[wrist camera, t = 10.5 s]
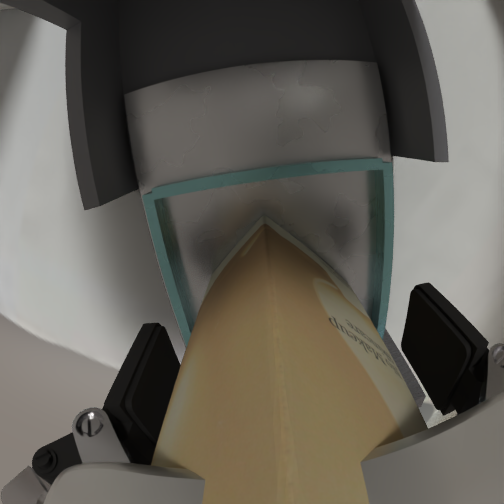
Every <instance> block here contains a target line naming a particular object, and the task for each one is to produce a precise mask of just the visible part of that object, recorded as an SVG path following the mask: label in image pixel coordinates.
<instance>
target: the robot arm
mask: <svg viewBox="0 0 504 504" xmlns="http://www.w3.org/2000/svg"><path fill="white" fill-rule="evenodd" d="M488 343H489V342H488V341H487V340H486V339H485V338H484V337H483V336H482V335H481V333H480V332H479V331H478V330H477V329H476V328H475V327H474V326H473V325H472V324H471V323H470V322H469V321H468V320H467V319H466V318H465V317H464V316H463V315H462V314H461V313H460V312H459V311H458V310H457V309H456V308H455V307H454V306H453V305H452V304H451V303H450V302H449V301H448V300H447V299H446V298H445V297H444V296H443V295H442V294H441V293H440V292H439V291H438V290H437V289H436V288H434V287H433V286H432V285H431V284H430V283H424V284H419V285H416V286H415V287H414V290H412V291H411V294H410V300H409V306H408V312H407V318H406V323H405V328H404V333H403V337H402V342H401V348H402V351H403V353H404V354H405V356H406V358H407V359H408V361H409V363H410V364H411V366H412V368H413V369H414V371H415V373H416V374H417V376H418V378H419V379H420V381H421V383H422V385H423V386H424V388H425V390H426V392H427V393H428V395H429V397H430V399H431V400H432V402H433V404H434V406H435V408H436V409H437V410H440V411H441V413H442V414H443V416H444V415H446V414H448V413H450V412H452V411H454V410H456V412H457V416H455V417H453V418H451V419H449V420H447V421H444V422H442V423H440V424H438V425H436V426H433V427H431V428H429V429H427V430H424V431H422V432H419V433H417V434H414V435H412V436H409V437H406V438H404V439H401V440H398V441H395V442H392V443H389V444H386V445H383V446H380V447H377V448H374V449H373V450H372V451H371V452H370V453H369V454H368V455H367V456H366V457H365V458H364V459H363V460H362V461H361V462H360V464H361V468H362V472H363V476H364V481H365V485H366V490H367V495H368V499H369V504H504V344H502V343H499V344H495V345H494V346H492V347H491V348H490V350H489V349H488V348H487V346H488ZM180 366H181V365H180V363H179V361H178V358H177V356H176V353H175V351H174V348H173V346H172V343H171V341H170V338H169V336H168V333H167V331H166V328H165V327H164V326H161V325H160V324H159V323H146V324H143V326H142V328H141V330H140V331H139V333H138V335H137V337H136V339H135V341H134V343H133V345H132V347H131V349H130V351H129V353H128V355H127V357H126V359H125V361H124V363H123V365H122V367H121V369H120V371H119V373H118V375H117V377H116V379H115V381H114V383H113V385H112V387H111V389H110V392H109V394H108V396H107V398H106V400H105V403H104V406H103V409H100V408H95V407H94V408H88V409H85V410H83V411H82V412H80V413H79V414H78V415H77V416H76V417H75V419H74V421H73V424H72V431H73V432H72V433H70V434H68V435H66V436H64V437H63V438H60V439H58V440H56V441H54V442H52V443H50V444H48V445H46V446H43V447H42V448H40V449H39V450H38V451H37V452H36V453H35V454H34V456H33V460H32V466H33V467H32V468H31V467H30V466H27V468H25V469H24V470H23V471H22V472H20V473H19V474H18V475H17V476H16V477H15V478H14V479H12V480H11V481H10V482H9V483H8V484H7V485H5V486H4V488H3V489H2V492H1V500H2V503H3V504H202V501H203V494H204V487H205V479H203V478H202V477H201V476H199V475H197V474H196V473H194V472H192V471H190V470H189V469H181V468H169V467H159V466H151V463H152V459H153V455H154V452H155V448H156V445H157V441H158V438H159V435H160V431H161V428H162V425H163V421H164V418H165V415H166V412H167V408H168V405H169V402H170V399H171V395H172V392H173V389H174V385H175V382H176V379H177V376H178V373H179V369H180Z"/></svg>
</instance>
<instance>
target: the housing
mask: <svg viewBox="0 0 504 504" xmlns="http://www.w3.org/2000/svg"><path fill="white" fill-rule="evenodd" d="M0 3H3V4H6V5H8V6H11V7H14V8H17V9H19V10H22V11H25V12H27V13H30V14H32V15H35V16H37V17H39V18H42V19H44V20H46V21H48V22H51V23H53V24H55V25H57V26H59V27H62V28H64V29H66V30H67V33H66V61H65V67H66V97H67V110H68V121H69V130H70V138H71V145H72V152H73V158H74V164H75V169H76V175H77V180H78V185H79V189H80V194H81V198H82V202H83V207H84V210H88V209H91V208H95V207H98V206H101V205H103V204H106V203H108V202H110V201H112V200H114V199H117V198H119V197H121V196H123V195H126V194H128V193H130V192H133V191H135V190H137V189H139V185H138V180H137V175H136V170H135V164H134V159H133V153H132V147H131V141H130V135H129V128H128V121H127V114H126V106H125V98H124V95H125V94H127V93H130V92H133V91H136V90H139V89H142V88H145V87H148V86H152V85H155V84H158V83H162V82H165V81H169V80H173V79H177V78H181V77H185V76H189V75H193V74H198V73H202V72H207V71H212V70H218V69H223V68H229V67H236V66H243V65H250V64H259V63H268V62H280V61H297V60H347V61H364V62H375V63H377V65H378V70H379V75H380V80H381V85H382V90H383V96H384V102H385V109H386V116H387V123H388V131H389V141H390V152H391V156H398V157H406V158H413V159H420V160H426V161H432V162H448V144H447V133H446V123H445V115H444V108H443V101H442V95H441V90H440V84H439V79H438V75H437V70H436V66H435V62H434V58H433V54H432V50H431V46H430V43H429V40H428V36H427V33H426V30H425V27H424V24H423V21H422V18H421V15H420V13H419V10H418V7H417V5H416V2H415V0H0Z"/></svg>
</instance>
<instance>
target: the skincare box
mask: <svg viewBox="0 0 504 504" xmlns="http://www.w3.org/2000/svg"><path fill="white" fill-rule="evenodd" d="M427 429H428V428H427V425H426V423H425V421H424V419H423V417H422V415H421V413H420V411H419V408H418V406H417V404H416V402H415V400H414V398H413V396H412V394H411V392H410V390H409V388H408V387H407V385H406V383H405V381H404V379H403V377H402V375H401V373H400V371H399V369H398V367H397V365H396V363H395V362H394V360H393V358H392V356H391V354H390V352H389V351H388V349H387V347H386V345H385V344H384V342H383V340H382V339H381V337H380V335H379V333H378V332H377V330H376V328H375V326H374V325H373V323H372V321H371V319H370V318H369V316H368V314H367V313H366V311H365V309H364V308H363V306H362V304H361V303H360V301H359V299H358V297H357V296H356V294H355V293H354V291H353V289H352V288H351V286H350V285H349V284H348V283H347V282H346V281H345V280H344V279H343V278H342V277H341V276H339V275H338V274H337V273H336V272H335V271H334V270H333V269H332V268H331V267H330V266H329V265H327V264H326V263H325V262H324V261H323V260H322V259H321V258H319V257H318V256H317V255H316V254H315V253H313V252H312V251H311V250H310V249H309V248H307V247H306V246H305V245H304V244H302V243H301V242H300V241H298V240H297V239H296V238H295V237H293V236H292V235H291V234H289V233H288V232H287V231H285V230H284V229H283V228H281V227H280V226H279V225H277V224H276V223H275V222H274V221H272V220H271V219H270V218H268V217H267V216H262V217H261V218H260V219H259V220H258V221H257V222H256V223H255V224H254V226H253V227H252V228H251V229H250V230H249V231H248V232H247V233H246V234H245V236H244V237H243V238H242V239H241V240H240V241H239V242H238V244H237V245H236V246H235V247H234V248H233V249H232V251H231V252H230V253H229V254H228V255H227V257H226V258H225V259H224V260H223V261H222V263H221V264H220V265H219V266H218V267H217V269H216V270H215V271H214V272H213V274H212V275H211V277H210V280H209V284H208V286H207V289H206V292H205V295H204V298H203V300H202V303H201V306H200V309H199V312H198V315H197V318H196V321H195V324H194V327H193V330H192V333H191V336H190V339H189V342H188V345H187V348H186V351H185V354H184V357H183V359H182V363H181V366H180V369H179V373H178V376H177V379H176V382H175V385H174V389H173V392H172V395H171V399H170V402H169V405H168V408H167V412H166V415H165V418H164V421H163V425H162V428H161V431H160V435H159V438H158V441H157V445H156V448H155V452H154V455H153V459H152V463H151V466H159V467H169V468H181V469H189V470H190V471H192V472H194V473H196V474H197V475H199V476H201V477H202V478H203V479H205V487H204V494H203V501H202V504H369V499H368V495H367V490H366V485H365V481H364V476H363V472H362V468H361V464H360V462H361V461H362V460H363V459H364V458H365V457H366V456H367V455H368V454H369V453H370V452H371V451H372V450H373V449H374V448H377V447H380V446H383V445H386V444H389V443H392V442H395V441H398V440H401V439H404V438H406V437H409V436H412V435H414V434H417V433H419V432H422V431H424V430H427Z"/></svg>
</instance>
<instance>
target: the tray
mask: <svg viewBox="0 0 504 504" xmlns="http://www.w3.org/2000/svg"><path fill="white" fill-rule="evenodd" d="M124 98H125V106H126V114H127V121H128V128H129V135H130V141H131V147H132V153H133V159H134V164H135V170H136V175H137V180H138V185H139V189H140V194H141V199H142V203H143V207H144V212H145V216H146V220H147V224H148V228H149V232H150V236H151V240H152V244H153V247H154V251H155V255H156V258H157V262H158V265H159V269H160V272H161V275H162V279H163V282H164V285H165V289H166V292H167V295H168V298H169V301H170V304H171V307H172V310H173V313H174V316H175V319H176V322H177V325H178V328H179V330H180V333H181V336H182V339H183V341H184V344H185V347H186V348H187V345H188V342H189V339H190V336H191V333H192V330H193V327H194V324H195V321H196V318H197V315H198V312H199V309H200V306H201V303H202V300H203V298H204V295H205V292H206V289H207V286H208V284H209V280H210V277H211V275H212V274H213V272H214V271H215V270H216V269H217V267H218V266H219V265H220V264H221V263H222V261H223V260H224V259H225V258H226V257H227V255H228V254H229V253H230V252H231V251H232V249H233V248H234V247H235V246H236V245H237V244H238V242H239V241H240V240H241V239H242V238H243V237H244V236H245V234H246V233H247V232H248V231H249V230H250V229H251V228H252V227H253V226H254V224H255V223H256V222H257V221H258V220H259V219H260V218H261V217H262V216H267V217H268V218H270V219H271V220H272V221H274V222H275V223H276V224H277V225H279V226H280V227H281V228H283V229H284V230H285V231H287V232H288V233H289V234H291V235H292V236H293V237H295V238H296V239H297V240H298V241H300V242H301V243H302V244H304V245H305V246H306V247H307V248H309V249H310V250H311V251H312V252H313V253H315V254H316V255H317V256H318V257H319V258H321V259H322V260H323V261H324V262H325V263H326V264H327V265H329V266H330V267H331V268H332V269H333V270H334V271H335V272H336V273H337V274H338V275H339V276H341V277H342V278H343V279H344V280H345V281H346V282H347V283H348V284H349V285H350V286H351V288H352V289H353V291H354V293H355V294H356V296H357V297H358V299H359V301H360V303H361V304H362V306H363V308H364V309H365V311H366V313H367V314H368V316H369V318H370V319H371V321H372V323H373V325H374V326H375V328H376V330H377V332H378V333H379V335H380V337H381V339H382V340H383V342H384V344H385V345H386V347H387V349H388V351H389V352H390V354H391V356H392V358H393V360H394V362H395V363H396V365H397V367H398V369H399V371H400V373H401V375H402V377H403V379H404V381H405V383H406V385H407V387H408V388H409V390H410V392H411V394H412V396H413V398H414V400H415V402H416V404H417V406H418V408H419V407H421V405H422V403H423V401H424V399H425V397H426V396H425V394H424V392H423V390H422V388H421V387H420V385H419V383H418V381H417V380H416V378H415V376H414V374H413V373H412V371H411V369H410V368H409V366H408V364H407V363H406V361H405V359H404V358H403V356H402V354H401V353H400V351H399V349H398V348H397V346H396V345H395V343H394V341H393V340H392V338H391V337H390V335H389V333H388V332H387V330H386V329H385V325H386V318H387V311H388V303H389V294H390V284H391V273H392V259H393V238H394V187H393V167H392V162H391V152H390V141H389V131H388V123H387V116H386V109H385V102H384V96H383V90H382V85H381V80H380V75H379V70H378V65H377V63H375V62H364V61H347V60H297V61H280V62H268V63H259V64H250V65H243V66H236V67H229V68H223V69H218V70H212V71H207V72H202V73H198V74H193V75H189V76H185V77H181V78H177V79H173V80H169V81H165V82H162V83H158V84H155V85H152V86H148V87H145V88H142V89H139V90H136V91H133V92H130V93H127V94H125V95H124Z"/></svg>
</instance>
